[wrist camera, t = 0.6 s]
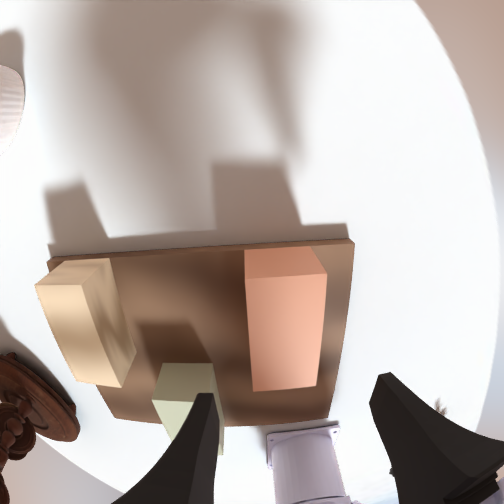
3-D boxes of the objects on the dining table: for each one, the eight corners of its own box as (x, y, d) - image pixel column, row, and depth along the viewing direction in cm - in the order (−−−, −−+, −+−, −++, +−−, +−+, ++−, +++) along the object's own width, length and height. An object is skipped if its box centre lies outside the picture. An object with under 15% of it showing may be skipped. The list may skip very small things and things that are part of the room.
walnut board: (325, 410, 25) (327, 417, 24) (117, 411, 24) (114, 417, 23) (349, 238, 18) (354, 243, 17) (53, 257, 18) (46, 261, 17)
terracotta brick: (305, 347, 20) (315, 385, 16) (251, 352, 20) (253, 391, 16) (309, 245, 17) (327, 273, 13) (244, 249, 17) (244, 278, 13)
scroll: (2, 326, 21) (-89, 445, 2) (100, 411, 25) (51, 554, 6) (-8, 374, 24) (-64, 463, 5) (67, 437, 28) (30, 536, 9)
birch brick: (136, 352, 20) (121, 387, 16) (95, 349, 20) (76, 381, 16) (109, 257, 17) (81, 284, 13) (64, 260, 17) (34, 285, 13)
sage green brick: (224, 421, 23) (223, 455, 19) (183, 420, 23) (178, 453, 19) (212, 363, 20) (208, 402, 17) (162, 362, 20) (151, 399, 17)
